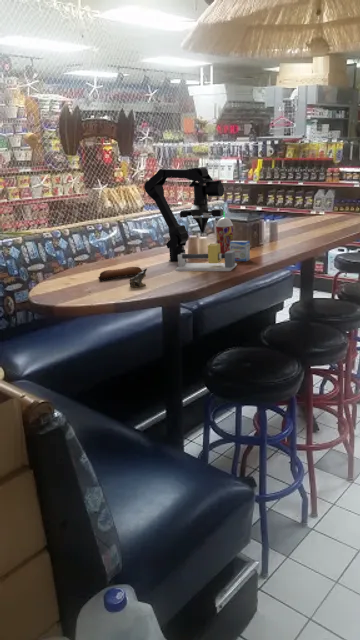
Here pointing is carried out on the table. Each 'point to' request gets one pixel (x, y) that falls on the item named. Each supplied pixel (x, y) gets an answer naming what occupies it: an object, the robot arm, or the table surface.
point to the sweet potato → (119, 273)
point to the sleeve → (213, 253)
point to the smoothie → (224, 233)
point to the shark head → (138, 279)
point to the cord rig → (226, 266)
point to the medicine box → (241, 250)
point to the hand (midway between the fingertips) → (202, 232)
